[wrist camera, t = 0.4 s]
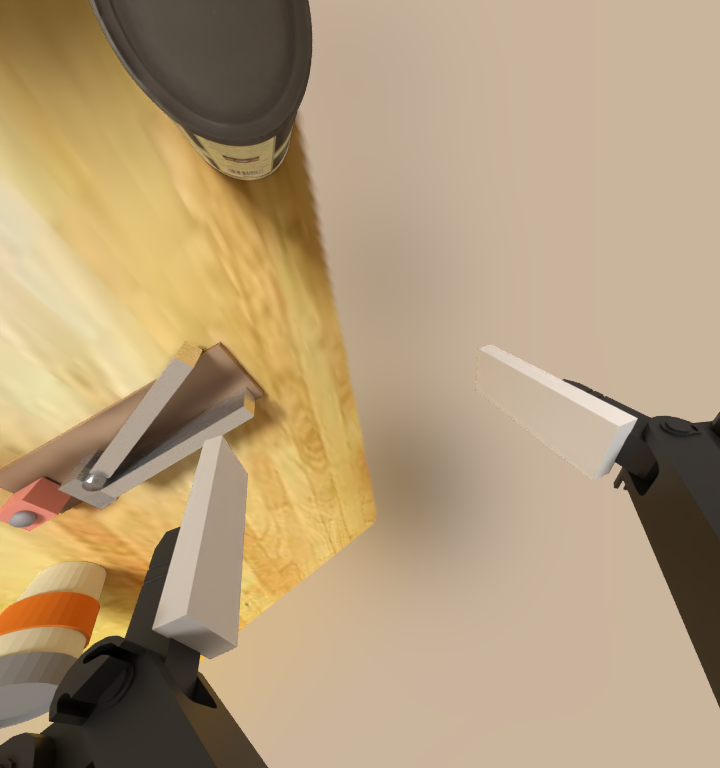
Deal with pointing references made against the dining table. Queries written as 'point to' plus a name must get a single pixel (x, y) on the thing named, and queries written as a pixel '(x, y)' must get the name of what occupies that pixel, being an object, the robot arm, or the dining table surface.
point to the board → (196, 394)
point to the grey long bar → (161, 450)
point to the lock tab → (34, 504)
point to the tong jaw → (143, 416)
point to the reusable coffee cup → (46, 636)
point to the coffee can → (218, 71)
